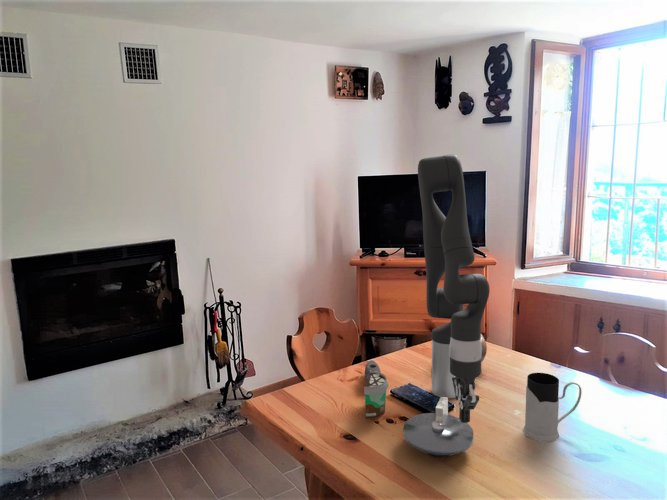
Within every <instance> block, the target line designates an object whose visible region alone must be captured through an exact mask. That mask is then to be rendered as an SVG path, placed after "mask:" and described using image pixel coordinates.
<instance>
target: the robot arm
mask: <svg viewBox="0 0 667 500" xmlns="http://www.w3.org/2000/svg"><path fill="white" fill-rule="evenodd" d="M417 176H418V177H417V179H418V187H419V196H420V202H421V210H422V228H423V229H422V232H423V233H422V234H423V235H422V236H423V237H422V238H423V252H424V260H425V269H426V270H425V271H426V299H425V300H426V310H427V314H428V316H429V317H431V318H436V319H445V320H447V319H448V320H450V321H449V322H447V323H446V324H441V325H439V326H436V327H435V328H433V329H432V330H431V393H432V394H433V395H435V396H436V397H439V398H440V397H441V396H442V397H448V399H455V400H456V401H457V405H458V406H459V408H458V409H459V411H458V412H459V415H458V416H459V417H458V418H459V419H460V421H461V422H462V423H468V424H469V423H470V422H471V411H472V410H475V408H476V406H477V404H478V403H479V401H480V395H478V394H476V393H475V390H476V382H475V379H476V378H479V377H480V375H481V374H482V362H481V356H482V346H481V334H482V321H483V317H484V313H485V309H486V306H487V303H488V300H489V297H490V283H489V281H488V279H487V277H486V276H485V275H483V274H481V273H468V274H460V273H459V271H460V270H459V269H461V268H465V267H468V266H470V265H472V264H473V263H474V261H475V253H474V249H473V243H472V239H471V235H470V229H469V222H468V214H467V213H468V212H467V199H466V190H465V179H464V171H463V167H462V163H461V160H460V158H459V156H457V155H456V154H454V153H453V154H445V155H438V156H430V157H429V156H428V157H424V158H421V159H420V160H419V161H418V164H417ZM448 191H451V194H452V199H451V204H450V207H449V210H448V213H447V214H446V216H445V214H444V213H443V212H442V211H441V209H440V208H439V207H438V205H437V203H436V202H435V199H434V193H439V192H440V193H442V192H448ZM443 276H444V280H443V287H438V285H439V283H440V282H441V280H442V277H443ZM464 305H467V306H466V308H464V307H465V306H464ZM475 394H476V395H475Z"/></svg>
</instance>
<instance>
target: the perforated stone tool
mask: <svg viewBox="0 0 667 500" xmlns="http://www.w3.org/2000/svg"><path fill="white" fill-rule="evenodd" d="M370 371H377V372H380V373H382V371H381V368H380V366H379V364H378V363H377V362H376V361H375V360H373V359H370V360H369V361H368V362H366V364H365V369H364V377H365V383H366V385H367V382H368V379H369V376H370Z"/></svg>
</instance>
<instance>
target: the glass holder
mask: <svg viewBox="0 0 667 500" xmlns="http://www.w3.org/2000/svg"><path fill="white" fill-rule="evenodd" d="M526 378H527V379H526V380H527V382H526V387H525V389H526V390H525V392H526V393H525V414H524V415H525V418H524V419H525V421H524V426H523V428H522V431H523V433H524V434H525V436H527V437H529V438H530V439H532V440H536V441H539V442H545V443H546V442H547V443H548V442H549V443H550V442H554V441H556V440H559V438H560V434H559V433H560V432H559V429H558V427H559V424H560V422H561V421H563V420H564V419H565V418H567V417H568V416H570V415H571V414H572V413H573V412H574V411H575V410H576V408H577V407H578V405H579V403H580V402H581V398H582V387H581V385H580V384H578V383H577V382H574V381H572V382H571V381H570V382H568V383H566V384H565V385H564V387H563V391H562V395H561V396H559V389H560V388H559V387H560V379H559V378H558V377H557V376H556V375H553V374H549V373H546V372H532V373H529V374H528V375H527V377H526ZM571 385H576V386H578V390H579V392H578V397H577V400H576V402H575V404H574V405H573V407H572V408H570V410H569V411H568V412H566V413H565V414H563V416H561V417H560V418H559V408H560V407H559V404H560V400H562V399H563V400H564V398H565V397H566V391H567V389H568V387H570V386H571Z"/></svg>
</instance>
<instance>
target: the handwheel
mask: <svg viewBox="0 0 667 500" xmlns="http://www.w3.org/2000/svg"><path fill="white" fill-rule="evenodd" d="M448 403H449V398H448V397H442V396H441V397H439V400H438V402H437V404H436V406H435V412H425V413H419V414H416V415H414V416H412V417H410V418H408V419H407V420H406V421H405V423H404V424H403V428H402V429H403V430H402V431H403V438H404V440H405V442H406V443H407V444H408V445H409V446H410V447H412V448H413V449H415V450H417V451H420V452H422V453H424V452H425V453H424V454H426V453H429V454H434V455H451V456H453V455H457V454H461V453H463V452H466V451H467V450H468V449H470V448H471V447H472V445H473V444H474V430H473V428H472V427H471V425H470V424H469V422H468V423H462V422H461V421H460V419H459V417H457V416H454V415H451V414H449V413H448V412H449V404H448Z"/></svg>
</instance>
